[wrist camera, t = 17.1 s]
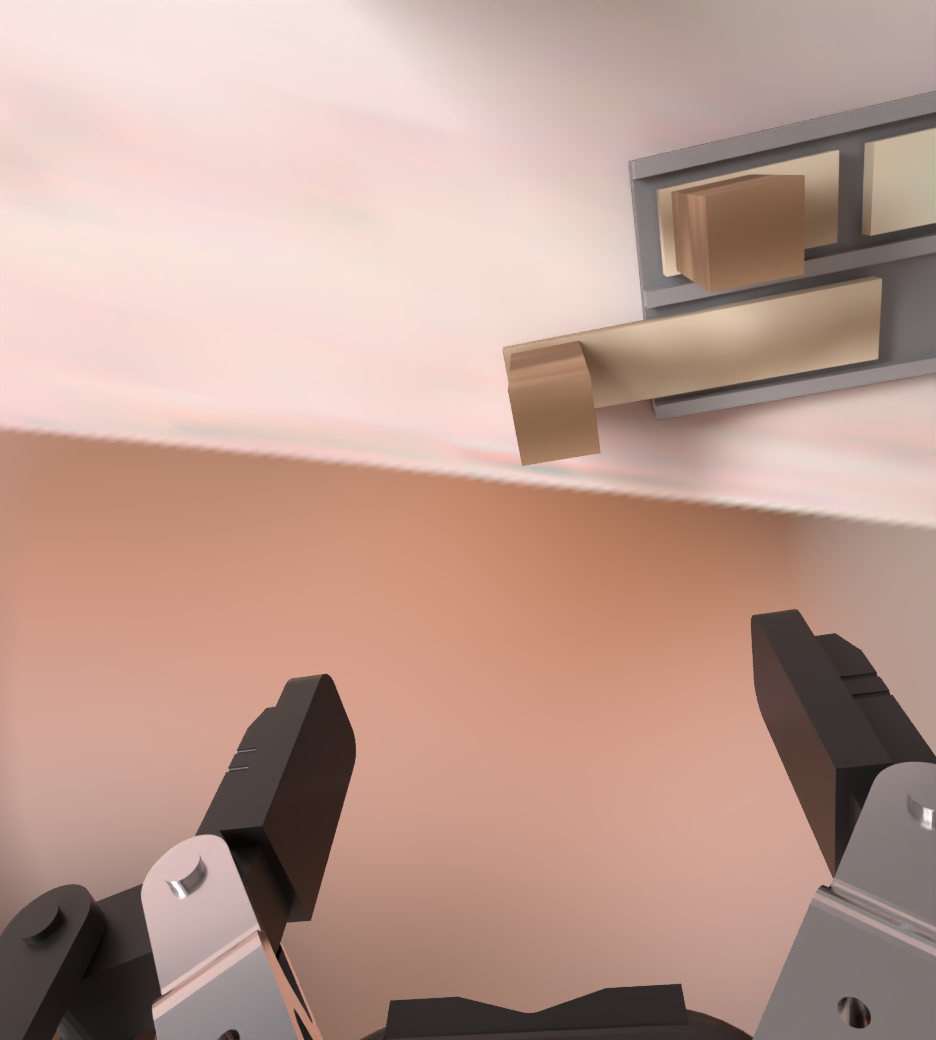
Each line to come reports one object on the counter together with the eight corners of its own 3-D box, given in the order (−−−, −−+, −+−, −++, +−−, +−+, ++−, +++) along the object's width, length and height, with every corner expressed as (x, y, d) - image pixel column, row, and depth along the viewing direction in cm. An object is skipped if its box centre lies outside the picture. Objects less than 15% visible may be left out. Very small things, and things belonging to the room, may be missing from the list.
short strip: (656, 189, 33) (691, 193, 26) (830, 150, 32) (917, 144, 25) (663, 274, 35) (698, 300, 28) (829, 240, 34) (909, 259, 27)
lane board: (628, 161, 34) (635, 160, 32) (1102, 52, 31) (1144, 44, 29) (652, 410, 40) (659, 423, 38) (1056, 340, 36) (1088, 350, 34)
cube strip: (503, 347, 37) (498, 388, 30) (872, 275, 35) (963, 303, 27) (516, 416, 39) (514, 471, 32) (869, 354, 36) (953, 399, 29)
